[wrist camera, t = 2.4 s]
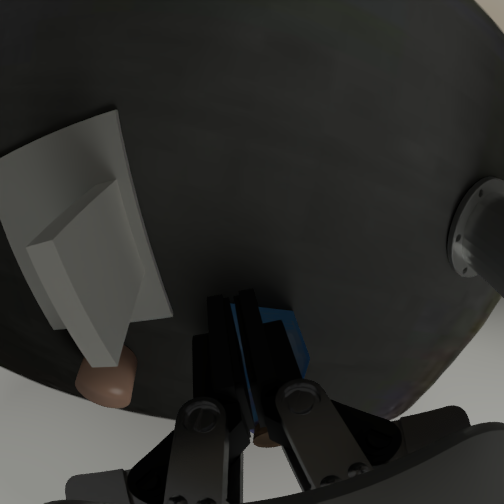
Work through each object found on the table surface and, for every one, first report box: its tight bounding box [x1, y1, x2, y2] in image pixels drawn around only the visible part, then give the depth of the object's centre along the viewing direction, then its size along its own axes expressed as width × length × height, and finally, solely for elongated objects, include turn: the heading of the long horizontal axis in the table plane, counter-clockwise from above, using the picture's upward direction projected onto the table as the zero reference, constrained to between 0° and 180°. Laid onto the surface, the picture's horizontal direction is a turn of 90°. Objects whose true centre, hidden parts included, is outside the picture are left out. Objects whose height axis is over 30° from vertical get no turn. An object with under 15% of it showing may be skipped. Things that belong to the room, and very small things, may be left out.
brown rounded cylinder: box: [75, 345, 137, 408], centre depth 26 cm, size 6×6×5 cm
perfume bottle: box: [230, 303, 310, 448], centre depth 23 cm, size 6×6×12 cm
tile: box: [26, 179, 145, 367], centre depth 17 cm, size 2×8×10 cm, turn 7°
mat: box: [0, 110, 173, 330], centre depth 21 cm, size 14×18×1 cm
